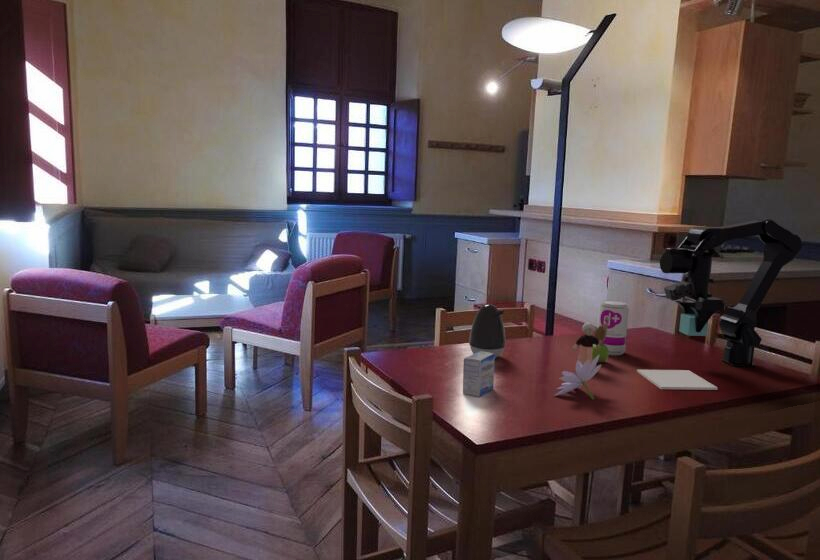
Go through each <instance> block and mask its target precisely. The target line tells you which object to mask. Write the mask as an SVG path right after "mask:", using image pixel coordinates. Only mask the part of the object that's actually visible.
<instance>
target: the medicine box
mask: <svg viewBox="0 0 820 560" xmlns="http://www.w3.org/2000/svg"><path fill="white" fill-rule="evenodd" d="M495 359H496V358H495V354H493V353H489V352H482V351H479V352H476V353H474V354H473V353H472V354H470V355H468V356H465V358H464V357H463V363H462V364H463V366H462V367H463V368H462V370H463V371H462V394H463V395H467V394H468V396H471V395H472V396H473V397H476V398H480V397H482V396H483V395H485V394H486V393H488V392H490V391H491V390H493V388H494V380H495V363H496V362H495Z"/></svg>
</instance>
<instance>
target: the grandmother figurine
mask: <svg viewBox="0 0 820 560" xmlns="http://www.w3.org/2000/svg"><path fill="white" fill-rule="evenodd" d="M581 328H582V329H581V330H582V331H583V333H584V334H583V335H580V337H579V338H578V339H577V340H576V342H575V344H574V345H573V347H572V350H573V351H577V349H578V347H579V346H580V349H579V354H578V357H577V361H578V360H579V361H580V362H581V364H582V365H584V363H585V362H586V361H587V360H589V361H590V365H591V363H592V362H593V360H592V353H593V344H595V345H596V346H597V349H600V348H601V346H600V344H599V341H598V339H597V338H596V337H594V333H595V330H596V326H595V325H594V324H593V322H592V323H591V322H590V321H588V322H585V323H584V324H583V326H582V327H581Z"/></svg>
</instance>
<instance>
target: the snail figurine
mask: <svg viewBox="0 0 820 560" xmlns="http://www.w3.org/2000/svg"><path fill="white" fill-rule="evenodd" d="M606 320H609V319H608V318H605V323H604V324H603V326H598V325H597V327H595V331H594V333H593V336H594V337H596V338H597V339H598V341H599V344H600V346H601V348H600V349H597V346H596V345H595V344H593V353H592V361H593V360H594V359H595V358H596V357H597V356H598V355H600V356H599V359H598V362H597V363H604V362H605V361H606V360H607V359H608V358H609V356H610V355H609V350H608V348H607V346H606V345H604V344H602V343H603V341H604V340H605V337H606V334H607V327H608V322H606Z"/></svg>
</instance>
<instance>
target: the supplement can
mask: <svg viewBox="0 0 820 560" xmlns="http://www.w3.org/2000/svg"><path fill="white" fill-rule="evenodd" d="M629 311H630V308H629V307H628V303H627V302H626V301H625V302H624V301H619V300H609V299H608V300H603V301H601V303H600V305H599V306H598V314H597V315H598V316H597V327H598V326H603V324H604V323H605V318H608V319H609V320H606V322H608V327H607V334H606V337H605V340H604V341H603V343H602V344H604V345H606V346H607V348H608V350H609V356H615V357H616V356H622V355H623V354H625V352H626V346H627V345H626V344H627V337H628V335H627V334H628V333H627V332H628V323H629Z"/></svg>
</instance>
